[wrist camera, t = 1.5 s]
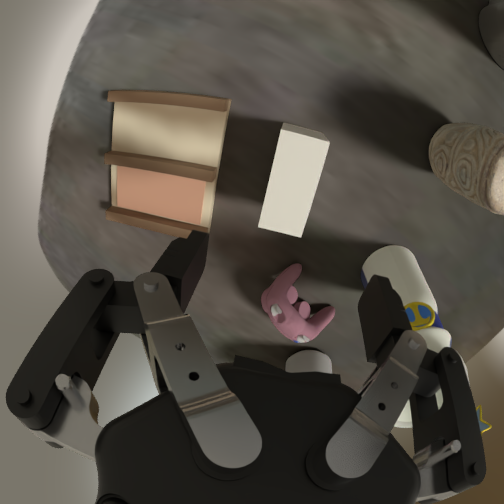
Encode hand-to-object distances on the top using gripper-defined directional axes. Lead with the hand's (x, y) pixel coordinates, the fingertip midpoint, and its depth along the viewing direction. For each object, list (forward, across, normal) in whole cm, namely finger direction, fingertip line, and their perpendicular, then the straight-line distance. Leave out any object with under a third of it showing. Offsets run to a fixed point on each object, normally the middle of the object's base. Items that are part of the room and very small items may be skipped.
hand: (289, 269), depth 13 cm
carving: (+18, -16, -8) cm, 25 cm away
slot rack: (+18, +14, +2) cm, 23 cm away
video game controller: (+18, -5, +16) cm, 25 cm away
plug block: (+18, 0, 0) cm, 18 cm away
